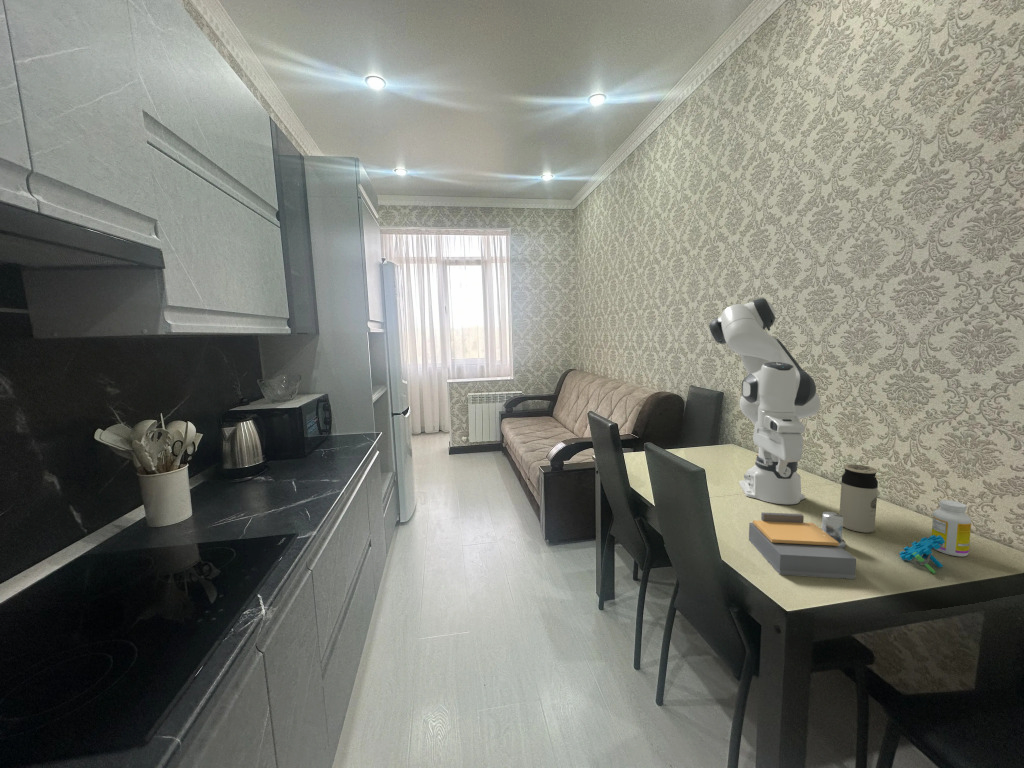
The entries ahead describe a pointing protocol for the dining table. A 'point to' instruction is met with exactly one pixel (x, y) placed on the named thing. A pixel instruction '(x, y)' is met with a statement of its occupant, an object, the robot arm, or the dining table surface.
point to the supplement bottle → (952, 528)
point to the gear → (923, 551)
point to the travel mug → (859, 498)
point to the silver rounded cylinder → (833, 526)
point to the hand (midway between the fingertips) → (774, 468)
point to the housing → (804, 557)
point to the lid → (792, 530)
